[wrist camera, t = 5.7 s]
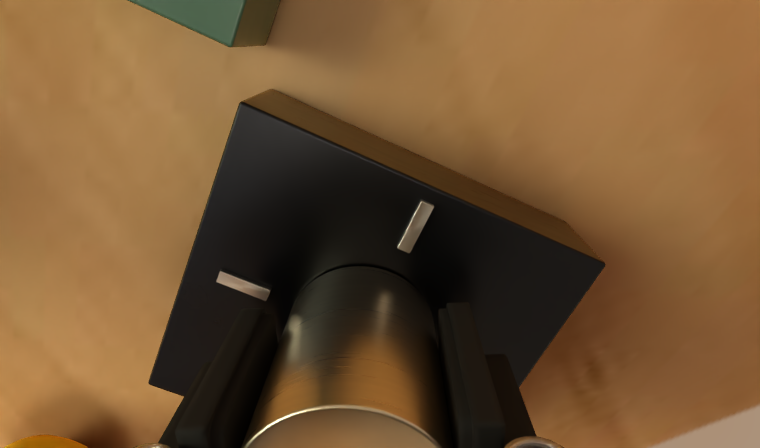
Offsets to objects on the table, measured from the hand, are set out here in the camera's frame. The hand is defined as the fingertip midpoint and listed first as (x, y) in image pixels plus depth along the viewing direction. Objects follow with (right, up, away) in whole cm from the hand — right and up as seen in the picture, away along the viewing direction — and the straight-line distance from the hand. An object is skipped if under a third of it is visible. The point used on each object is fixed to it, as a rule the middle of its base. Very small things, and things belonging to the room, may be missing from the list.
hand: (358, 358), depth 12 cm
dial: (0, 0, +1) cm, 1 cm away
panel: (0, +2, +4) cm, 4 cm away
